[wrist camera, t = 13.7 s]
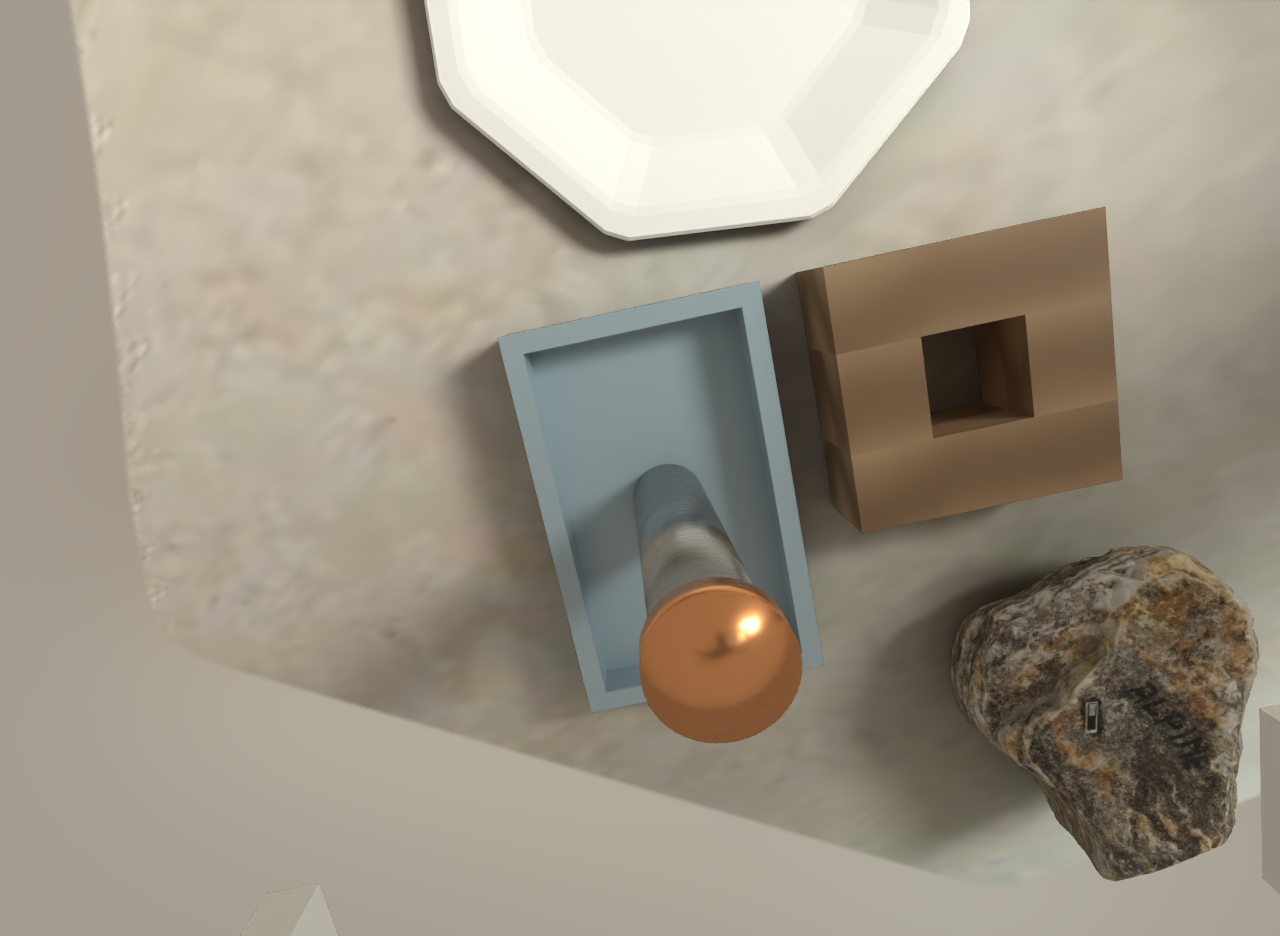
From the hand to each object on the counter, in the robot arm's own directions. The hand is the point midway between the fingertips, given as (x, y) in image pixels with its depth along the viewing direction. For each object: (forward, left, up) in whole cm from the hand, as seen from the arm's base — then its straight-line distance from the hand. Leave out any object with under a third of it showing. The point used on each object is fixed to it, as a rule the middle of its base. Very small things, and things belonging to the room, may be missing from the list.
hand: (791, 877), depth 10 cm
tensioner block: (-3, +12, -22) cm, 25 cm away
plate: (-20, +5, -22) cm, 30 cm away
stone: (+12, +16, -22) cm, 30 cm away
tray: (0, 0, -22) cm, 22 cm away
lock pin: (0, 0, -21) cm, 21 cm away
